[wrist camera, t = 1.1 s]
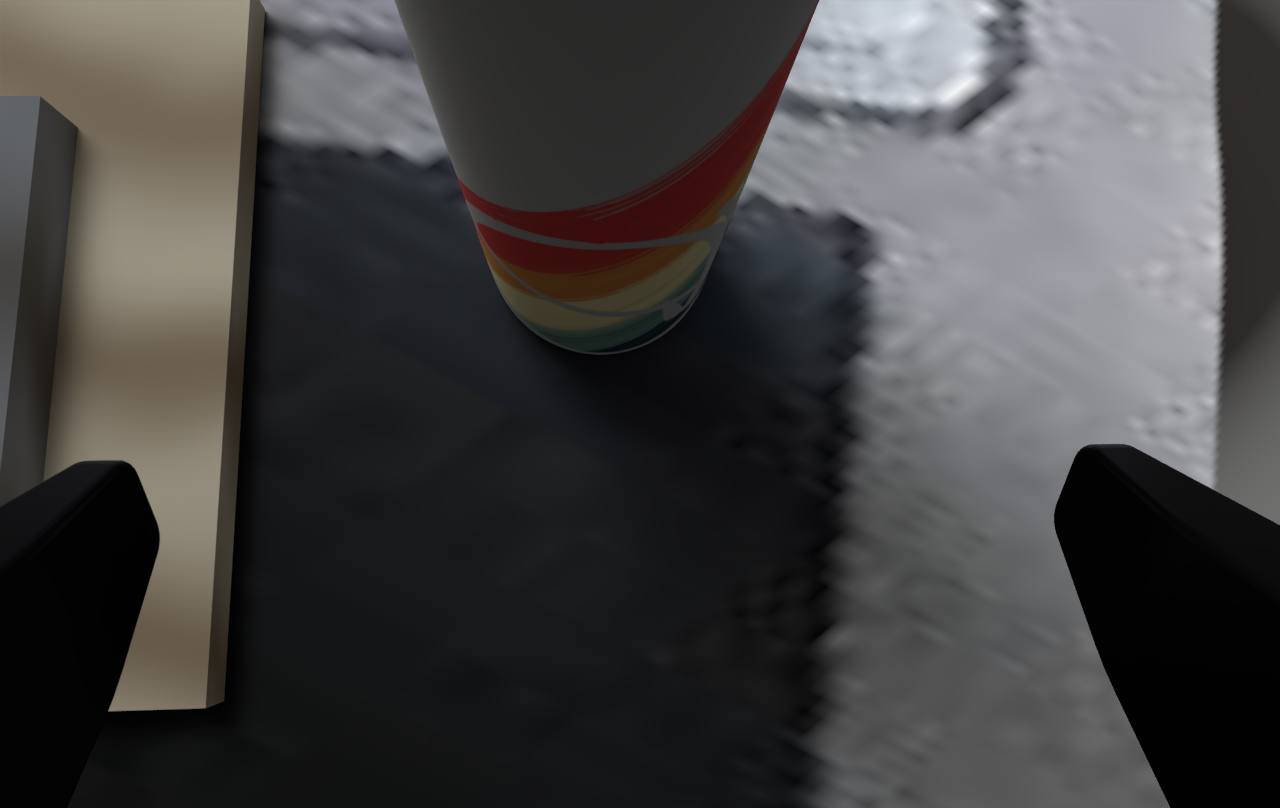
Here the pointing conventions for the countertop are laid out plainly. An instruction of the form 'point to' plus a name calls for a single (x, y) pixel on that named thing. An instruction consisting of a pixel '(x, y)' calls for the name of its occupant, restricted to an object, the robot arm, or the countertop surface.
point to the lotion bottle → (603, 145)
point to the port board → (134, 287)
